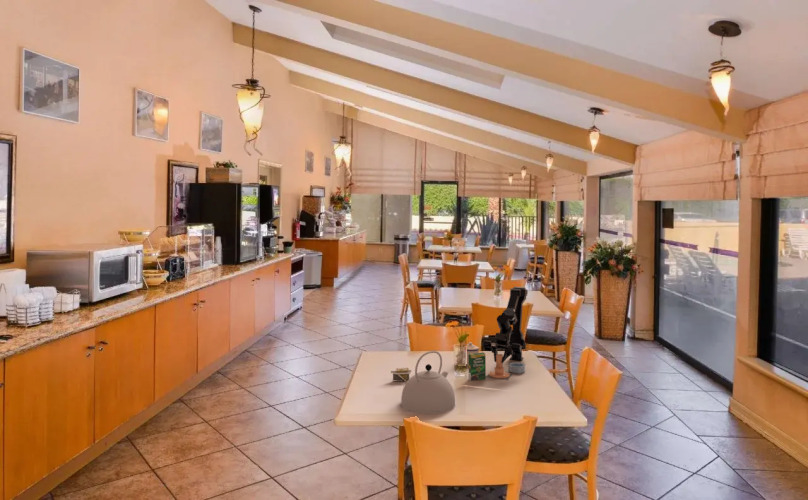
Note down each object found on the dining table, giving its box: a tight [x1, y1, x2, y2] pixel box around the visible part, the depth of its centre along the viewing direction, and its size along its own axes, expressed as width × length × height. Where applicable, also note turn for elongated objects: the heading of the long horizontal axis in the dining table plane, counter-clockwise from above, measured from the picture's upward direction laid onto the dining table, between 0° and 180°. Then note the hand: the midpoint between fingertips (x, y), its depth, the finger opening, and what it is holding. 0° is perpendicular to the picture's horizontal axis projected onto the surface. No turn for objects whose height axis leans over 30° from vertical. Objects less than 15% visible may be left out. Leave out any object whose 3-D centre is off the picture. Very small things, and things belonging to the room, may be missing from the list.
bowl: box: [508, 362, 526, 374], centre depth 288 cm, size 8×8×4 cm
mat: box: [486, 371, 513, 381], centre depth 281 cm, size 11×11×1 cm
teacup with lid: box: [466, 341, 480, 366], centre depth 303 cm, size 12×9×12 cm
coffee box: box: [468, 352, 487, 381], centre depth 274 cm, size 8×3×13 cm, turn 107°
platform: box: [390, 367, 412, 382], centre depth 272 cm, size 12×18×7 cm, turn 103°
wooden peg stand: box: [488, 353, 511, 380], centre depth 280 cm, size 10×10×10 cm
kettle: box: [400, 350, 456, 415], centre depth 241 cm, size 25×23×22 cm
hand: (498, 362), depth 279 cm, fingers closed on wooden peg stand, 3 cm apart
